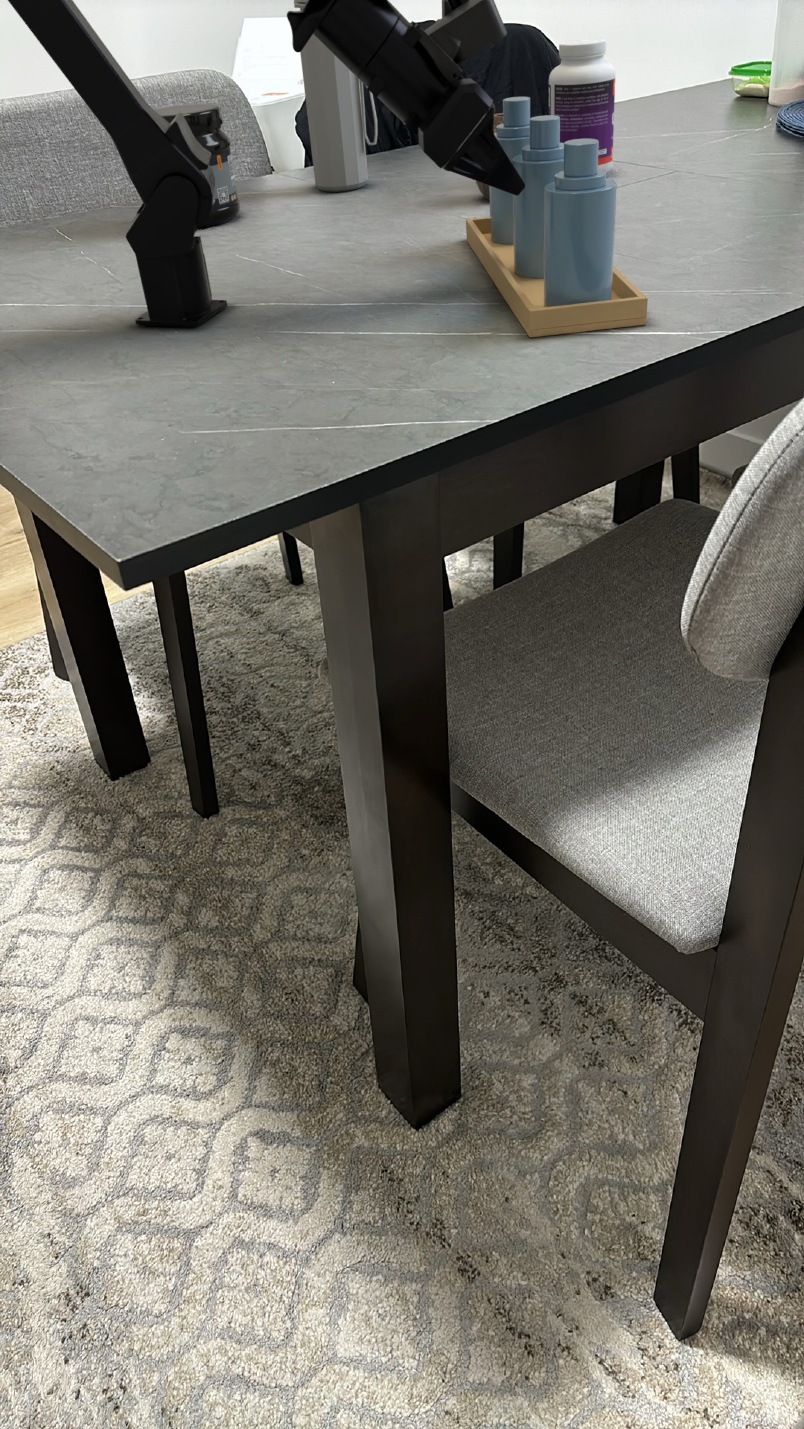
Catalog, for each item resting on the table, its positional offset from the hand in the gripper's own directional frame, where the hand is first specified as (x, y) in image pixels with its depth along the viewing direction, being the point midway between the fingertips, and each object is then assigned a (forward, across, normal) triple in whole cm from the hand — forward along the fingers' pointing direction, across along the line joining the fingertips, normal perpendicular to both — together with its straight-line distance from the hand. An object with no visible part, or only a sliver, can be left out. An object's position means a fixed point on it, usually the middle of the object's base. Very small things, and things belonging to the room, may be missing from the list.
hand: (511, 180), depth 92 cm
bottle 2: (+8, -13, +3) cm, 15 cm away
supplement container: (-16, +41, +29) cm, 53 cm away
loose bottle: (+8, 0, +3) cm, 8 cm away
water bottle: (-2, +52, +15) cm, 54 cm away
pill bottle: (+18, +44, -6) cm, 48 cm away
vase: (+10, +36, +2) cm, 37 cm away
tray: (+8, 0, +4) cm, 9 cm away
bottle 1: (+8, +13, +3) cm, 15 cm away
